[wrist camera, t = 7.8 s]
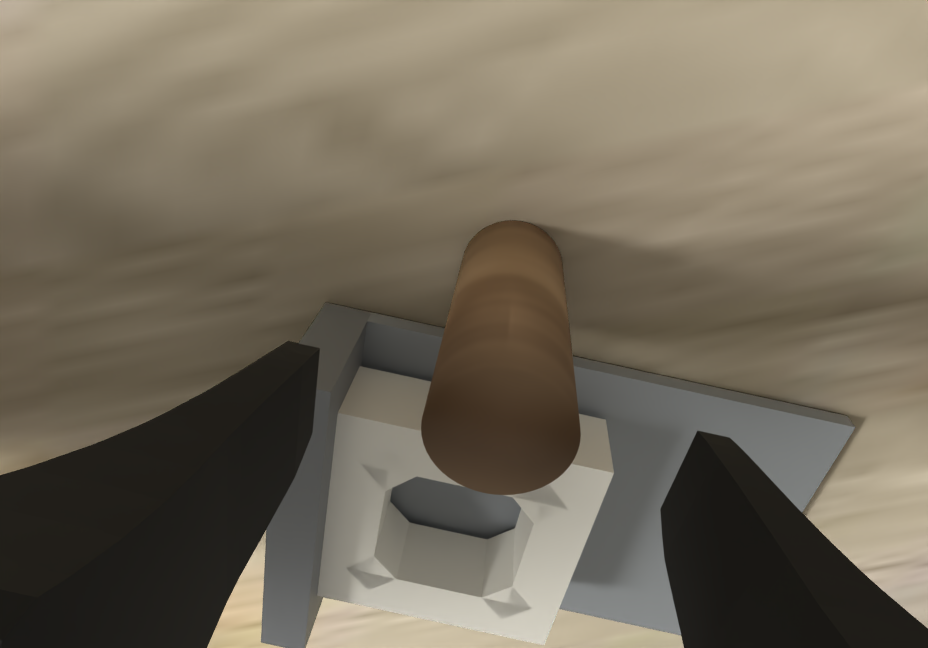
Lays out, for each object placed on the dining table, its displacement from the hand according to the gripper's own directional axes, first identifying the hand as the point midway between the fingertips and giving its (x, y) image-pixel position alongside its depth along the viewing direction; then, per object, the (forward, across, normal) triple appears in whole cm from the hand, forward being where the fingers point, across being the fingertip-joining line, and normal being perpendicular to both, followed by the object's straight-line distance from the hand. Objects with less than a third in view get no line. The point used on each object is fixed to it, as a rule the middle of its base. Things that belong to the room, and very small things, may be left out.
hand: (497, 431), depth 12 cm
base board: (+8, -3, +8) cm, 12 cm away
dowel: (+8, 0, 0) cm, 8 cm away
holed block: (+7, 0, +8) cm, 11 cm away
